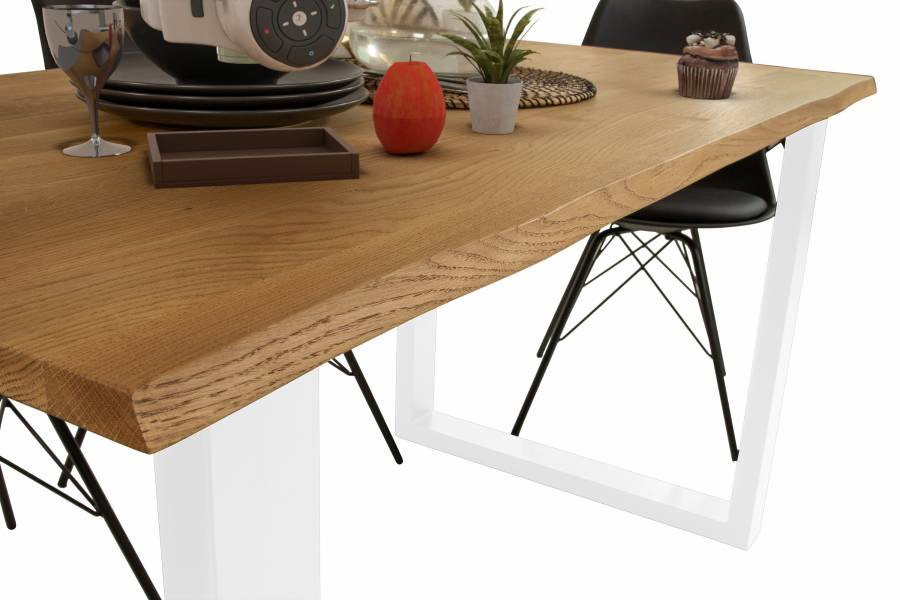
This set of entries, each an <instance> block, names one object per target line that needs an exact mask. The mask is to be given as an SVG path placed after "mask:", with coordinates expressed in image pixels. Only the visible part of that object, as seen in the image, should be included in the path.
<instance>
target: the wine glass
mask: <svg viewBox="0 0 900 600" xmlns="http://www.w3.org/2000/svg"><path fill="white" fill-rule="evenodd" d="M42 18H43V25H44V31H45V32H44V33H45V36H46V40H47V43H48V47H49V51H50V53H51V55H52V57H53V59H54V61H55V64H56V65H57V66H58V68H59V69H60V70H61V71H62V72H63V73H64V74H65V75H66V76H67V77H68V78H69V79H70V80H71V81H72V82H73V83H74V84H75V85H76V86H77V88H78V89H79V90H80V92H81V93H82V96H84V99H85V102H86V103H85V104H86V106H87V111H88V115H89V121H90V128H91V129H90V131H91V137H90V139H88V140H87V141H86V142H82V143H79V144H75V145H71V146H67V147H65V148H63V149H62V153H63V154H64V155H67V156H71V157H81V158H99V157H100V158H101V157H110V156H117V155H118V156H119V155H122V154H126V153H129V152H131V150H132V147H131V146H130V145H127V144H124V143H117V142H111V141H107V140H104V139H103V138H102V137H101V134H100V127H99V100H100V95H101V93H102V90H103V88H104V86H105V85H106V83H107V82H108V81H109V79H110V78H111V77H112V75H113V74H114V73H115V71H116V70H117V68H118V67H119V65H120V63H121V61H122V58H123V55H124V54H123V53H124V47H125V34H126V33H125V32H126V31H125V14H124V7H123V6H119V5H111V4H110V5H108V4H57V5H56V4H55V5H45V6H42Z"/></svg>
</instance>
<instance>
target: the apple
mask: <svg viewBox="0 0 900 600" xmlns="http://www.w3.org/2000/svg"><path fill="white" fill-rule="evenodd" d="M446 118H447V107H446V99H445V95H444V91H443V88H442V86H441V84H440V82H439V79H438V78H437V76H436V75H435V73H434V71H433V70H432V68H431V67H430V66H429V65H428V63H427V62H425V61H418V60H412V55H411V54H410V55H409V60H408V61H395V62H393V63H392V64H391V65H390V66H389V67H388V68H387V70H386V71H385V73H384V75H383V76H382V78H381V80H380V82H379V84H378V87H377V88H376V91H375V94H374V97H373V102H372V121H373V127H374V133H375V135H376V137H377V139H378V140H379V142H380V144H381V146H382V148H383V149H384V150H385V151H386V152H388V153H390V154H392V155H399V154H400V155H401V154H415V153H426V152H428V151H430V150H431V149H432V148H433V147H434V146H435V145H436V144H437V143H438V140H439V139H440V137H441V135H442V132H443V130H444V127H445V125H446Z"/></svg>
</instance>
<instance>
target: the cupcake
mask: <svg viewBox="0 0 900 600" xmlns="http://www.w3.org/2000/svg"><path fill="white" fill-rule="evenodd" d="M685 39H686V42H687V44H688V45H686V46H684V47H683V48H682V55H681V57H679V59H678V61H677V62H675V65H676V72H677V81H678V82H677V83H678V85H677V86H678V95H679V96H681V97H686V98H692V99H701V100H726V99H730V97H731V93H732V91H733V88H734V84H735V82H736V77H737V74H738V72H739V69H740V68H739V67H740V65H739V54H738V51H737V48H736V46H735V43H736V37H735V36H734V35H731V33H730V32H728V33H726V32H724V33H722V32H717V31H716V30H714V29H710V30H707V31H702V30H700V29H698V30H695V31H692V32H691V35H688V36H686V38H685Z"/></svg>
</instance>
